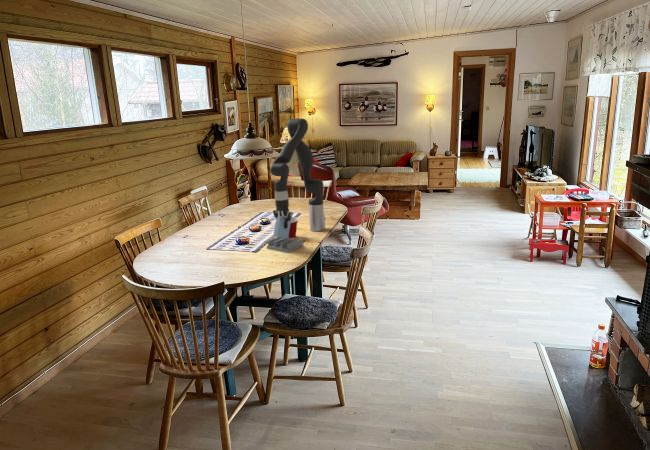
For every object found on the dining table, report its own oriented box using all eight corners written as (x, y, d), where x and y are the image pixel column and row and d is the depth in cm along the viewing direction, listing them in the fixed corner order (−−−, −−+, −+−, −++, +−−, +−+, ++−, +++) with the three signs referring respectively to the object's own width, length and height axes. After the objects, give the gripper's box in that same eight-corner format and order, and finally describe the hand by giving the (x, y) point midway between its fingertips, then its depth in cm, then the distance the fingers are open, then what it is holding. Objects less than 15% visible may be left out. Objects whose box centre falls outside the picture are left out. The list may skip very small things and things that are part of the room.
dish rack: (282, 242, 285) (282, 235, 284) (303, 245, 276) (303, 238, 275) (266, 248, 274) (266, 241, 273) (287, 252, 265) (287, 244, 264)
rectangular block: (284, 238, 275) (287, 219, 276) (287, 238, 274) (291, 220, 274) (273, 236, 267) (276, 217, 268) (276, 236, 266) (280, 217, 266)
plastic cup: (284, 240, 287) (282, 221, 284) (280, 236, 298) (279, 217, 295) (301, 238, 290) (300, 219, 287) (297, 234, 300) (296, 216, 297)
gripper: (295, 198, 266) (297, 227, 271) (277, 196, 275) (279, 225, 279) (286, 200, 261) (288, 231, 265) (268, 198, 269) (270, 228, 273)
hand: (283, 227), depth 272 cm, fingers closed on rectangular block, 2 cm apart
